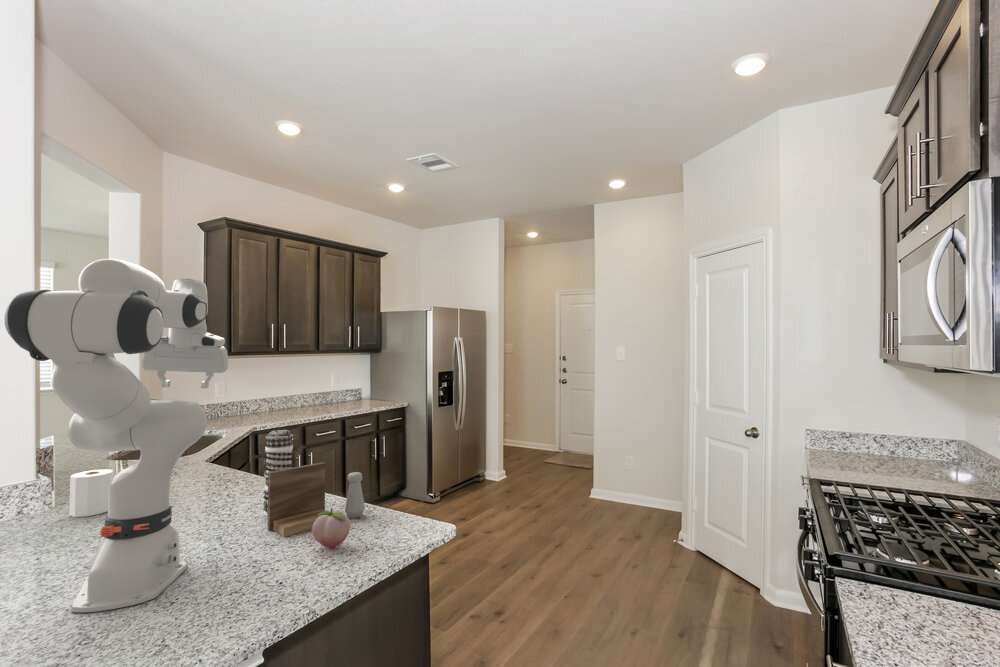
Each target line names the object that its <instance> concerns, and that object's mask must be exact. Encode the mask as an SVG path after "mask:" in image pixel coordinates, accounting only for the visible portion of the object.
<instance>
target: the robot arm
mask: <svg viewBox="0 0 1000 667" xmlns="http://www.w3.org/2000/svg"><path fill="white" fill-rule="evenodd" d="M206 285H207V284H206V283H204V282H203V281H200V280H197V279H196V280H195V279H191V278H178V279H175V280H174V281H173V285H172V287H171V288H172V289H171V290H167V289H166V285H165V283H164V282H163V280H162V279H161V278H160V276H158V275H157V274H155V273H154V272H152V271H151V270H148V269H146V268H145V267H143V266H141V265H139V264H136V263H133V262H131V261H130V262H129V261H126V260H122V259H115V258H102V259H96V260H94V261H92V262H90V263H89V264H87V265H86V266H85V267H84V268H83V269H82V270H81V272H80V274H79V277H78V289H79V290H54V291H53V290H52V289H51V290H50V289H37V290H28V291H24V292H20V293H19V294H17V295H15V297H14V298H12V300H11V301H10V302H9V304H8V305H7V307H6V310H5V311H4V312H5V313H4V326H5V330H6V332H7V333H8V335H9V337H11V339H12V340H13V341H14V343H16V345H17V346H19V347H20V348H21V349H23V350H25V351H27V352H28V354H29V356H30V357H31V358H32V359H34V360H36V361H39V362H40V361H41V362H45V361H49V360H51V361H52V363H53V369H52V373H51V384H52V388H53V389H54V391H55V393H56V394H57V395H58V397H59V398H60V400H61V401H62V402H63V404H65V405H66V406H67V407H68V408H69V410H71V411H72V412H73V413H74V414H72V416H71V418H70V419H69V422H68V425H67V435H68V439H69V440H70V443H71V444H73V446H75V447H76V448H77V449H79V450H82V451H83V450H84V451H92V452H103V453H108V452H109V453H110V452H122V451H140V454H139V459H138V461H137V462H136V463H133V464H131V465H129V466H126V467H125V468H123V469H121V470H119V471H118V472H117V473H115V475H113V478H112V479H111V481H110V483H109V487H108V511H107V516H106V517H105V518H104V519H105V520H104V523H103V526H102V527H101V529H100V530H99V531H100V532H99V534H100V537H101V538H102V537H103V538H102V539H101V540H100V541H99V546H98V547H97V550H96V553H95V555H94V558H93V561H92V563H91V566H90V569H89V573H88V575H87V577H86V578H85V579H84V582H83V583H82V585H81V587H80V589H79V591H78V593H77V595H76V597H75V599H74V600H73V602H72V604H71V610H70V612H72V613H94V612H95V613H96V612H102V611H110V610H114V609H119V608H125V607H130V606H135V605H138V604H142V603H145V602H148V601H150V600H154V599H156V598H157V597H158V596H159V595H160V594H162V592H163V591H165V590H166V589H167V588H168V587H169V586H170V585H171V584H172V583H173V582H174V581H175V580H176V579H177V578H179V576H180V575H181V574H183V573H184V572H185V571H186V570H187V569H188V568H189V567H188V563H187V561H181V560H180V559H181V557H180V536H179V531H178V530H176V529H175V528H174V527H173V526H172V525H171V522H172V516H173V511H172V506H171V505H170V494H171V493H170V492H171V482H172V475H173V472H174V468H175V466H176V464H177V462H178V461H179V459H180V458H181V456H182V455H183V454H184V453H185V451H186V450H188V449H189V448H190V447H191V446H193V445H195V444H196V443H197V442H198V441H199V440H200V439H201V437H203V435H204V434H205V433H206V432H205V431H206V429H207V425H208V416H207V413H206V411H205V409H204V408H203V407H202V405H201V404H200V403H199V402H195V401H191V400H190V401H189V400H184V399H183V400H182V399H151V394H150V391H149V390H148V388H147V387H146V386H145V385H144V384H143V382H141V380H140V379H139V378H138V377H137V375H135V374H134V373H133V371H131V370H130V369H129V368H128V367H127V366H126V365H125V364H123V363H121V362H120V361H119V360H117V358H116V357H115V354H126V355H135V354H137V355H138V354H142V353H143V356H142V361H141V367H142V368H143V370H145V371H150V372H151V371H152V372H153V371H155V372H157V373H156V374H157V377H158V378H159V380H160V381H161V387H162V388H170V387H171V380H170V379H167V377H166V376H165V375H166V374H167V372H179V373H180V372H183V373H184V372H185V373H186V372H187V373H189V372H190V373H205V377H207V378H206V379H205V380H203V381H200V388H201V389H209V383H210V381H211V379H212V378H213V377H214V374H216V373H217V374H223V373H225V372H226V371H227V370H228V369H229V356H228V355H229V354H228V350H227V348H226V347H225V346H224V345H225V344H226V340H225V337H221V336H220V335H215V334H213V333H210V332H207V331H208V325H207V322H206V320H207V315H208V313H209V312H208V311H209V306H208V305H209V300H208V289H207V286H206ZM164 328H166V329H168V336H163V332H164Z"/></svg>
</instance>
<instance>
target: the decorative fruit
mask: <svg viewBox="0 0 1000 667" xmlns="http://www.w3.org/2000/svg"><path fill="white" fill-rule="evenodd" d="M318 516H319V517H318ZM317 517H318V518H317V519H316V520H315V522H314V524H313V527H312V529H311V533H312V536H313V537H314V539H315V541H317V543H319V544H320V545H321V546H323V547H325V548H327V549H334V548H335V547H338V546H340V545H341V544H343V543H344V541H345V540H346V539H347V537H348V535H349V533H350V528H351V521H350V518H348V516H347V514H345V513H343V512H341V511H333V508H330V511H329V510H325V511H324V512H322V513H319V514H318V515H317Z"/></svg>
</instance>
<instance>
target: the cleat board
mask: <svg viewBox="0 0 1000 667" xmlns="http://www.w3.org/2000/svg"><path fill="white" fill-rule="evenodd" d="M324 511H326V463H325V462H324V461H323V462H316V463H312V464H306V465H301V466H296V467H295V466H293V467H292V468H288V469H283V470H277V471H272V472H268V516H267V530H268V531H269V532H271V531H273V532H276V533H277V534H279V535H280V536H281V537H283V538H286V537H290V536H293V535H297V534H301V533H304V532H308V531H312V527H313V524H314V522H315V520H316V519H317V518H318V517H319V516H318V517H317V515H318V514H319V513H322V512H324Z"/></svg>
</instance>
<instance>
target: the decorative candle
mask: <svg viewBox="0 0 1000 667" xmlns="http://www.w3.org/2000/svg"><path fill="white" fill-rule="evenodd" d="M293 436H294V434H292V433H291V431H290V430H288V429H276V430H275V429H274V430H272V431H269V433H268V434H267V435H266V436H265V447H264V448H265V449H263V450H262V452H263V453H262V457H263V458H264V459H263V461H262V462H263V467H262V468H263V470H264V471H263V476H264V477H265V484H264V490H263V495H264V496H263V499H264V501H263V504H262V505H263V508H262V510H263V515H264V516H265V517H268V472H272V471H277V470H283V469H288V468H294V467H295V463H293V462H292V461H294V460H296V457H294V455H295V454H296V452H295V451H294V450H293V448H294V444H293Z"/></svg>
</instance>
